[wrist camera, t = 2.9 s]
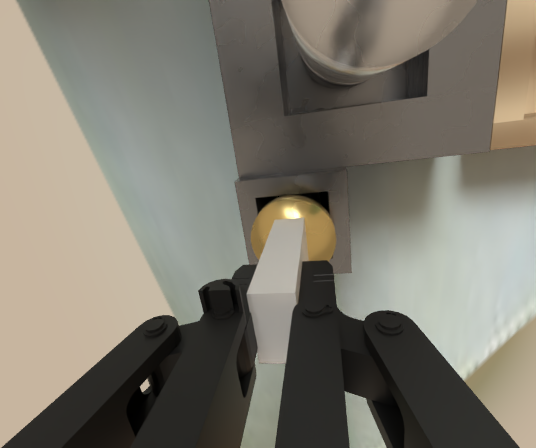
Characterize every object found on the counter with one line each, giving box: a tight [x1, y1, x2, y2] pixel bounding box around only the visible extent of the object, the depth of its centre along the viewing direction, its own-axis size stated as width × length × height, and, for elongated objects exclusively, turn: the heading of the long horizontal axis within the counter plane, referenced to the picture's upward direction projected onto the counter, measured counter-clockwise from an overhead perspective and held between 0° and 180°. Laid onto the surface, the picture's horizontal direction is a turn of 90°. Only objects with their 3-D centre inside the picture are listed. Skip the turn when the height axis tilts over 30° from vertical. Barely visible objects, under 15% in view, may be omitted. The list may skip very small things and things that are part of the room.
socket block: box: [209, 0, 507, 273], centre depth 18 cm, size 19×13×8 cm
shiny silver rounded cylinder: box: [281, 0, 478, 90], centre depth 12 cm, size 5×5×12 cm
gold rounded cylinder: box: [251, 192, 336, 262], centre depth 19 cm, size 4×4×7 cm
